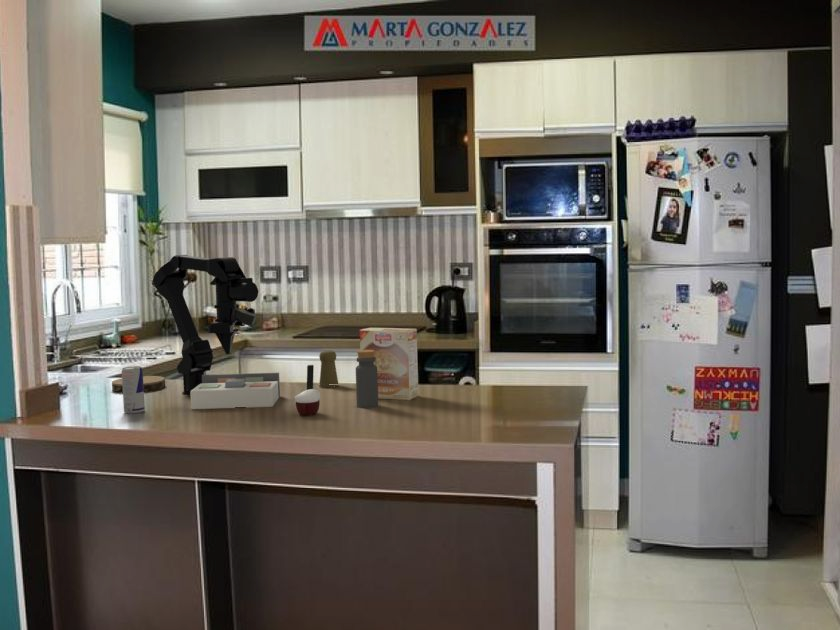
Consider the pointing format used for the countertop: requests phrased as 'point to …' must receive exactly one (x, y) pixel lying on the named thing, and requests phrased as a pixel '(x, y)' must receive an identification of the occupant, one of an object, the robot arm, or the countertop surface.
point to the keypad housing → (236, 391)
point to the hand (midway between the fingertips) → (228, 354)
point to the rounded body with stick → (308, 396)
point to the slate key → (235, 383)
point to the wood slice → (148, 382)
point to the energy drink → (133, 389)
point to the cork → (328, 369)
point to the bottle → (366, 380)
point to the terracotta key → (260, 385)
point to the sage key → (210, 386)
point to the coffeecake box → (393, 360)
